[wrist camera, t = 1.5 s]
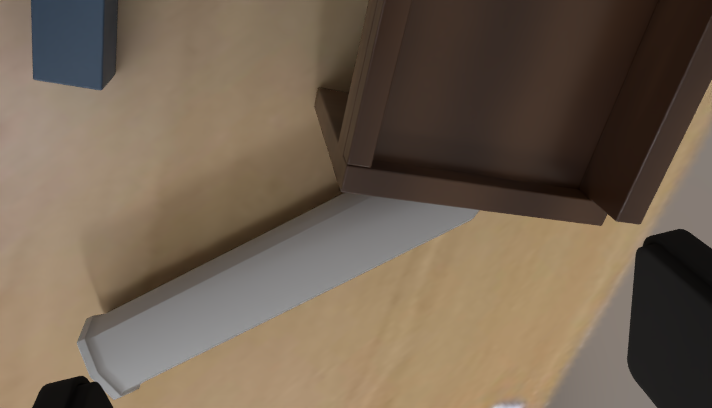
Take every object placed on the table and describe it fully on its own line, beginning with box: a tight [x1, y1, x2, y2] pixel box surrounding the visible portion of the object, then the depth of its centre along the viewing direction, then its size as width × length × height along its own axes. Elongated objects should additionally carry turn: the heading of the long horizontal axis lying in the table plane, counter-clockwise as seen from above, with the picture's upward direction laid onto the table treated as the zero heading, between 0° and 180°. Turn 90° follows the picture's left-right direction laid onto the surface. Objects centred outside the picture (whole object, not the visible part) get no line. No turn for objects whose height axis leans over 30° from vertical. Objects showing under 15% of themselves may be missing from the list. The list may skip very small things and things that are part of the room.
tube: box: [77, 193, 480, 400], centre depth 34 cm, size 5×5×25 cm
